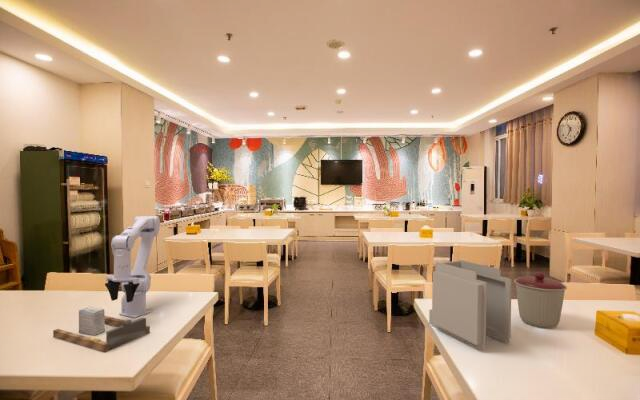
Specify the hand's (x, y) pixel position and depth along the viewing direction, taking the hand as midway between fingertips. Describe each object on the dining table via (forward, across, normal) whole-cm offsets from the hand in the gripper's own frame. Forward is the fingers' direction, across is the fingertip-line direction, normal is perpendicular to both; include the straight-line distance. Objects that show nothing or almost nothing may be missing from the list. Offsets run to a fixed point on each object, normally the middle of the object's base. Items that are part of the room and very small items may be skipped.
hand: (122, 300), depth 130 cm
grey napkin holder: (+11, +129, +33) cm, 133 cm away
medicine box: (+10, -6, -8) cm, 14 cm away
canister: (+11, +159, +54) cm, 168 cm away
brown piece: (+10, 0, -8) cm, 13 cm away
